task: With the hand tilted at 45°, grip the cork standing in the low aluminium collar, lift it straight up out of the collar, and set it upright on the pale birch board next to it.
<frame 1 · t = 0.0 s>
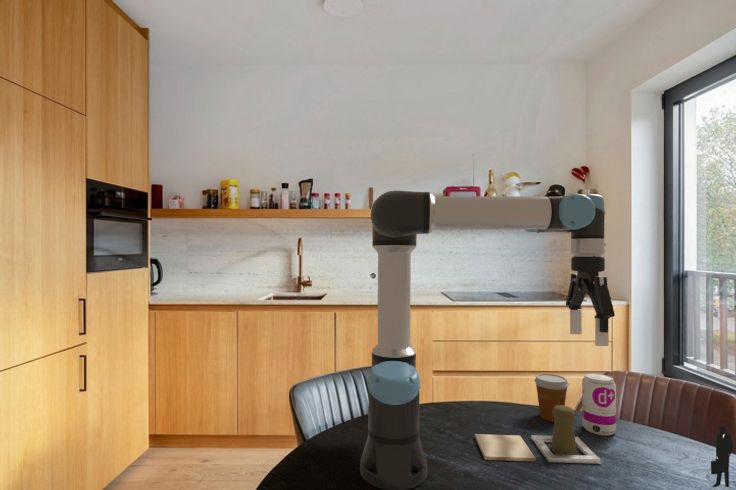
hand: (587, 339, 103), 28 cm above the table, tool pointing down, fingers open, 13 cm apart
disposable coffee cup: (551, 418, 123), on the table
birch board: (503, 448, 103), on the table
cork: (563, 451, 102), resting in shaker dock
supplement can: (598, 430, 114), on the table
shaker dock: (563, 450, 102), on the table
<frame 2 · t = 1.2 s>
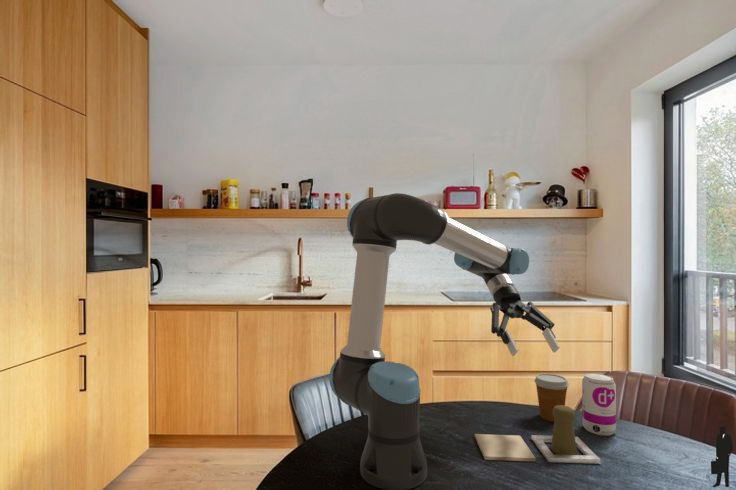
hand: (536, 351, 113), 22 cm above the table, tool tilted 45°, fingers open, 13 cm apart
nothing on the table moved.
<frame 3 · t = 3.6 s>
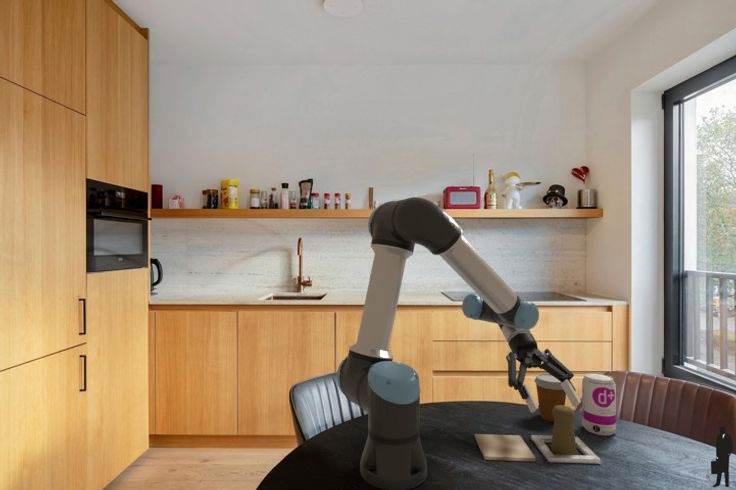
hand: (556, 407, 107), 9 cm above the table, tool tilted 45°, fingers open, 13 cm apart
nothing on the table moved.
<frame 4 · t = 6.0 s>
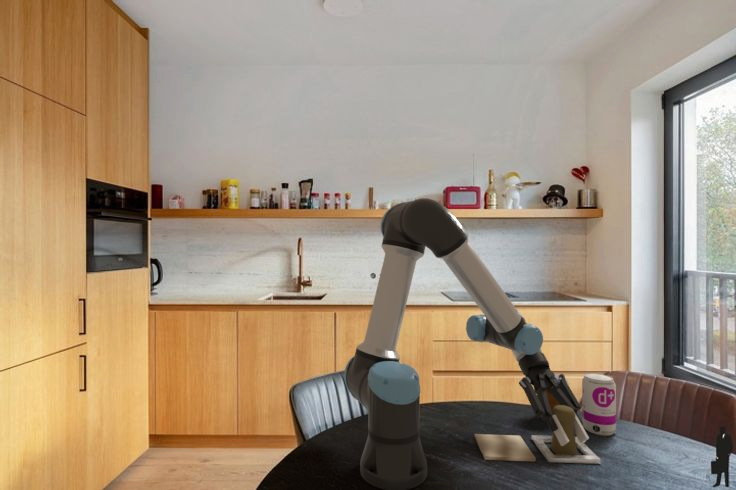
hand: (575, 441, 99), 4 cm above the table, tool tilted 45°, fingers closed on cork, 5 cm apart
cork: (563, 451, 102), resting in shaker dock, touching gripper
everything else where it was.
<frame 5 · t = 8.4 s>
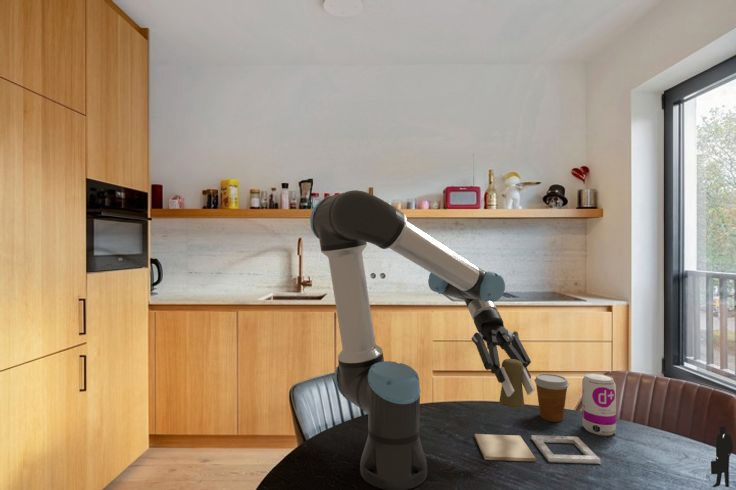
hand: (521, 392, 100), 15 cm above the table, tool tilted 45°, fingers closed on cork, 5 cm apart
cork: (511, 403, 103), point 11 cm above the table, touching gripper
everything else where it was.
when the fingers open (6 cm above the table, at t = 10.8 s): cork drops 1 cm, resting on birch board.
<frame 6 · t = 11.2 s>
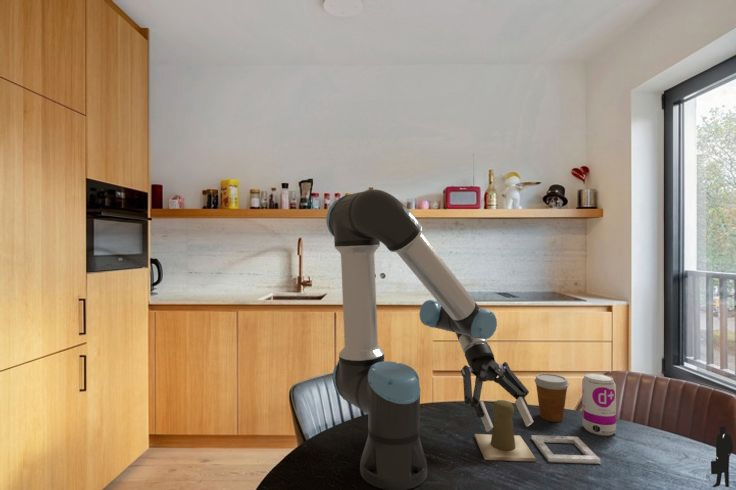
hand: (510, 426, 101), 7 cm above the table, tool tilted 45°, fingers open, 11 cm apart
cork: (502, 445, 103), point 1 cm above the table, touching birch board
everything else where it was.
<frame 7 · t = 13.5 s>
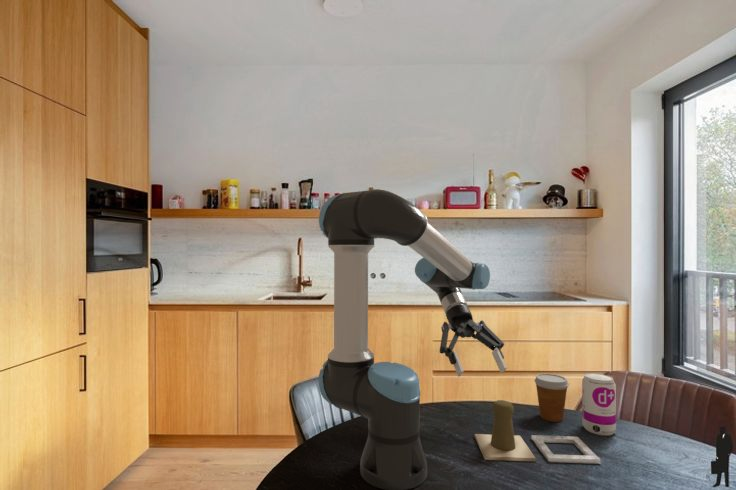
hand: (482, 372, 113), 17 cm above the table, tool tilted 45°, fingers open, 13 cm apart
nothing on the table moved.
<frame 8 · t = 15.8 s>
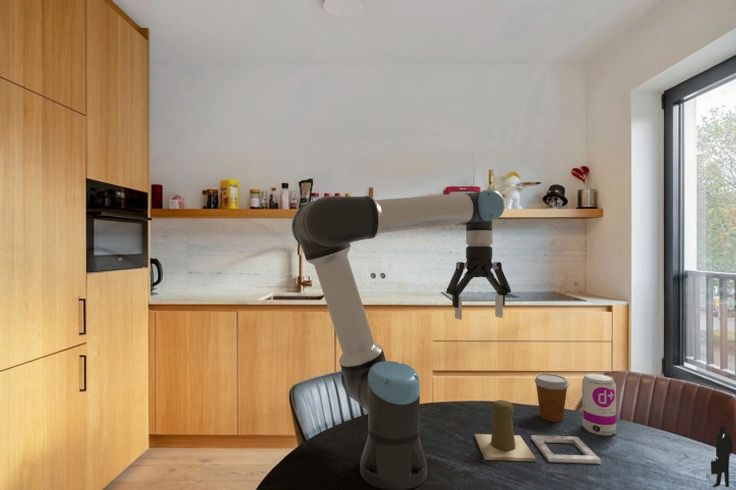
hand: (479, 318, 119), 31 cm above the table, tool pointing down, fingers open, 13 cm apart
nothing on the table moved.
at the end: cork inside the target area on the birch board (0.1 cm from its centre), point 0.6 cm above the birch board's base; cork tilted 0°; the gripper is holding nothing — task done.
